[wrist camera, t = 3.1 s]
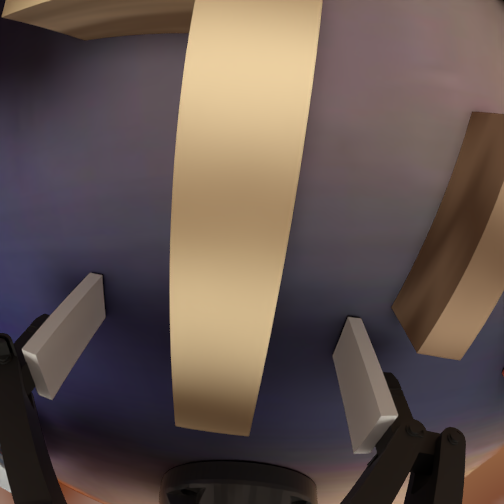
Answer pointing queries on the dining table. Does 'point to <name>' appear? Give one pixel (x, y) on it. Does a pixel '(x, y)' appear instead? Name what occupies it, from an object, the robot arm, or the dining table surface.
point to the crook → (220, 178)
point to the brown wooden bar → (460, 250)
